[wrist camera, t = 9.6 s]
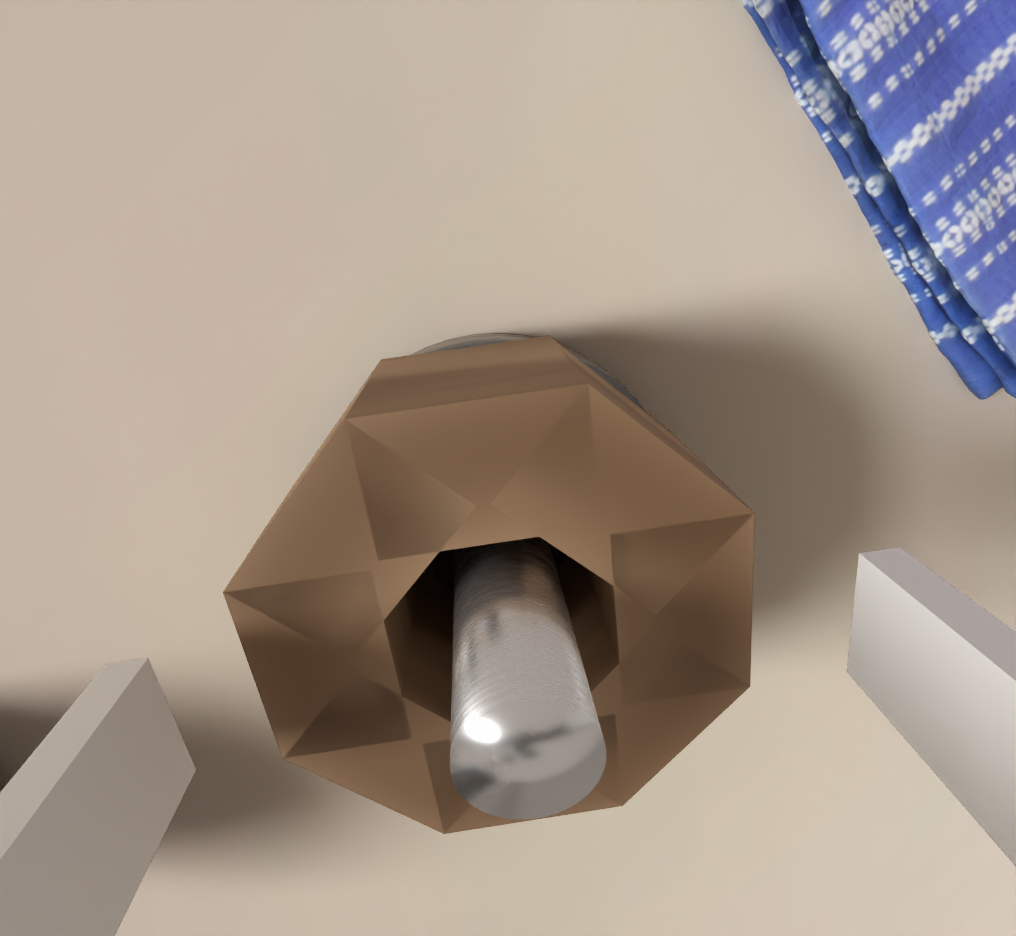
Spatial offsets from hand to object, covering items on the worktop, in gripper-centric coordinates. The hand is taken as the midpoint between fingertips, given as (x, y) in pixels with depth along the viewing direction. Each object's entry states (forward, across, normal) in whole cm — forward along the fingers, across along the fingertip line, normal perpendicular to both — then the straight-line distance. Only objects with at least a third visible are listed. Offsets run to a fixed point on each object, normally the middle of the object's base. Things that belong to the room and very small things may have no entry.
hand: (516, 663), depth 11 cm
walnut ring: (+6, 0, 0) cm, 6 cm away
